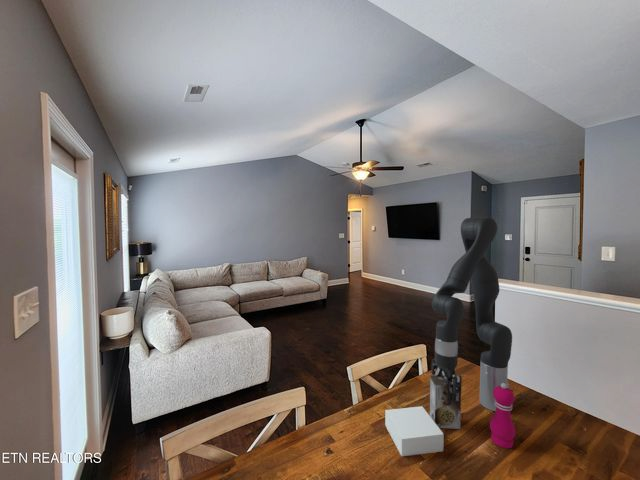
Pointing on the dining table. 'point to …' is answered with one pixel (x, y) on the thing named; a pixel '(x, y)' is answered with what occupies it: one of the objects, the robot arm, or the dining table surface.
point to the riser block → (413, 431)
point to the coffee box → (444, 404)
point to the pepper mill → (502, 417)
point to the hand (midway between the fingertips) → (445, 394)
